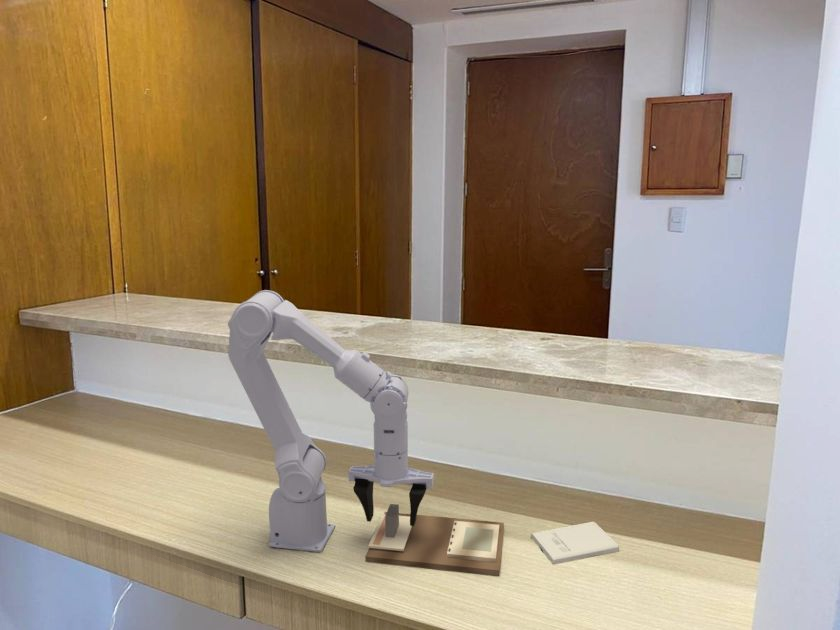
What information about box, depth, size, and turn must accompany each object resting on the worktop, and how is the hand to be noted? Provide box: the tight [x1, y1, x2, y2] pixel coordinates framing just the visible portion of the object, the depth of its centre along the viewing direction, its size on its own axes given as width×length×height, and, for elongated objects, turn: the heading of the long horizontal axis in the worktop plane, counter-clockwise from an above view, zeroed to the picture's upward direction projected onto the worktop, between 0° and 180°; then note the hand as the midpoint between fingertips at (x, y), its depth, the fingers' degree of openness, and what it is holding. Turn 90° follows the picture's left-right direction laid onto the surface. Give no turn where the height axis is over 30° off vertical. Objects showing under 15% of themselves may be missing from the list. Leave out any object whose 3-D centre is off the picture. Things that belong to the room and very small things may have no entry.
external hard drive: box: [530, 521, 620, 565], centre depth 110 cm, size 2×8×12 cm
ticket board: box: [364, 511, 505, 577], centre depth 110 cm, size 22×14×2 cm, turn 80°
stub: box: [368, 503, 412, 551], centre depth 111 cm, size 6×10×4 cm, turn 170°
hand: (391, 520), depth 110 cm, fingers open, 7 cm apart
